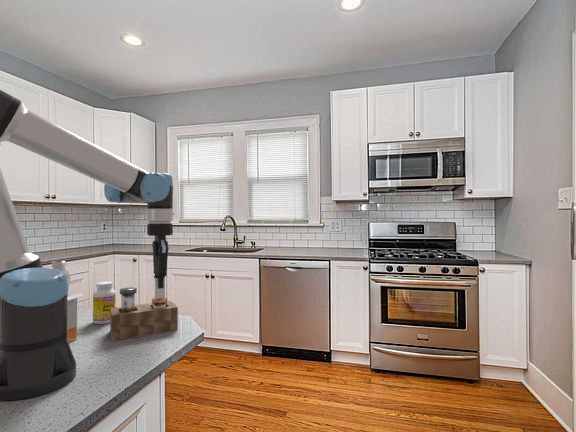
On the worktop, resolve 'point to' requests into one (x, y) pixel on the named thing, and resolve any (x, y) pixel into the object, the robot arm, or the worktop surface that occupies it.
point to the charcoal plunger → (128, 299)
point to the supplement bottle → (103, 302)
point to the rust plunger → (159, 302)
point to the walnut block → (143, 320)
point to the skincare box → (71, 318)
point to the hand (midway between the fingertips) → (159, 297)
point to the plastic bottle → (61, 266)
